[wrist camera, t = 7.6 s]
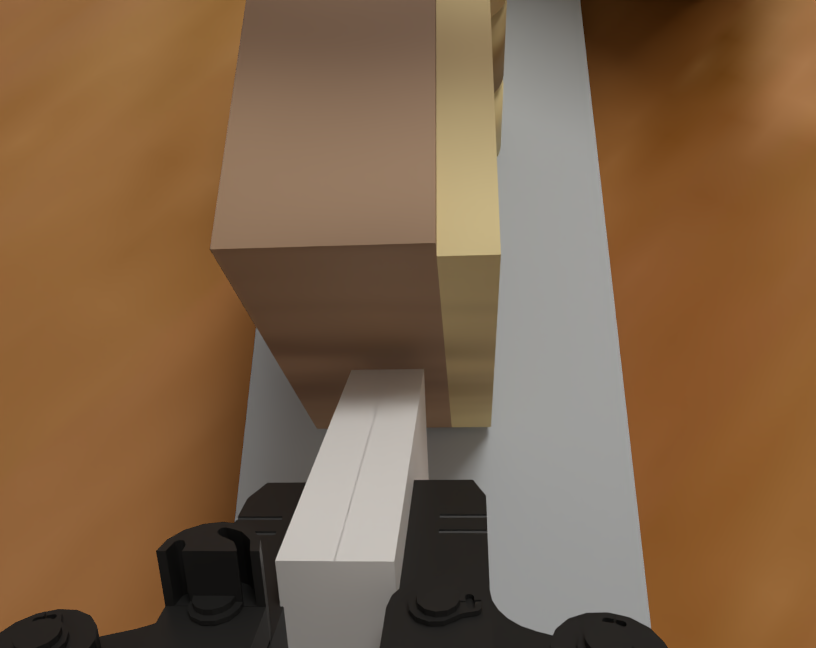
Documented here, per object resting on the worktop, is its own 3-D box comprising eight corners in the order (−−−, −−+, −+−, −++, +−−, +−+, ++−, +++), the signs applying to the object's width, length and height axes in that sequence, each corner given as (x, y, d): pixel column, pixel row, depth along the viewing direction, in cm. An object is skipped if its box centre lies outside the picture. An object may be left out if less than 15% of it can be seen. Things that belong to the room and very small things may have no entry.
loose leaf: (514, 426, 20) (542, 239, 12) (316, 428, 20) (210, 249, 12) (499, 105, 24) (511, -191, 16) (338, 112, 25) (271, -174, 17)
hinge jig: (670, 884, 16) (909, 1118, 7) (209, 868, 17) (-87, 1062, 8) (567, -57, 29) (610, -400, 20) (304, -42, 30) (229, -366, 21)
